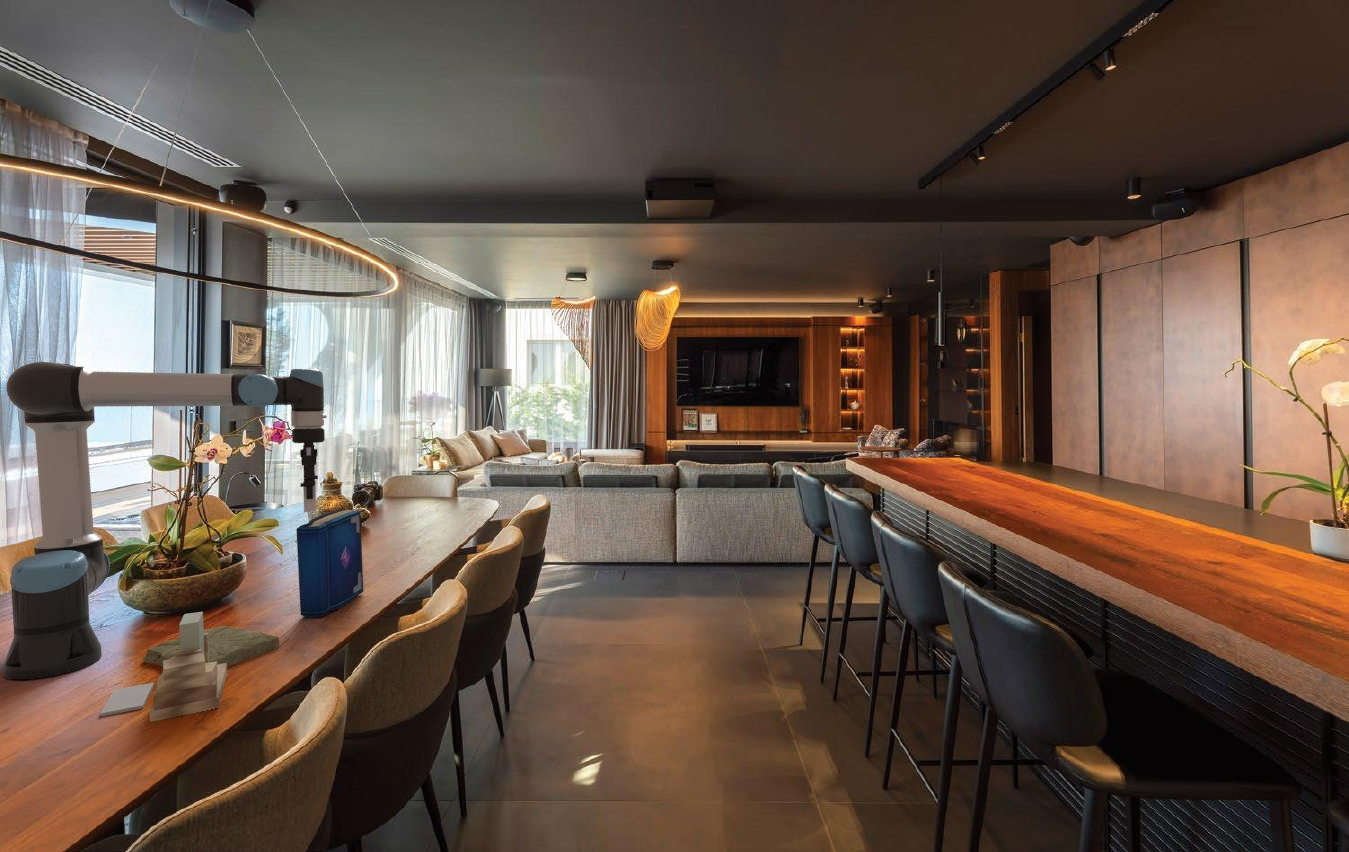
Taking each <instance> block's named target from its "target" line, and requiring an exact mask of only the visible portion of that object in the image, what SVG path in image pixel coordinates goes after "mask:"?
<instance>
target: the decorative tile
mask: <svg viewBox="0 0 1349 852" xmlns="http://www.w3.org/2000/svg"><path fill="white" fill-rule="evenodd" d="M204 633H208V649H209V662H215V661H217V665H218V664H224V663H227V668H229V667H231V666H233V664H234V665H236V664H239V663H241V662H244V661H246V660H249V659H252V658H254V657H257V656H260V655H262V654H265V653H267V652H271V651H272V650H275V649H277V648H279V647H280V645H281V644H280V637H279V636H276V635H271V634H268V633H264V632H262V631H261V632H260V631H253V630H250V629H249V630H248V629H244V628H239V627H238V628H237V627H232V626H228V625H219V626H216V627H212V628H207V629H204ZM179 652H180V636H179V637H177V638H176V637H175V639H170V640H166V641H163V642H161V643H159V644H157V645H155V646H153V647H149V648H148V649H147V650H146V655H145V656H143V658H142V661H143V662H144V663H145V662H146V664H148V663H154V664H153V665H157V664H158V666H160V667H161V668H163V661H164V660H169V659H174V658H175V654H176V653H179Z"/></svg>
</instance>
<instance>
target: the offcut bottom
mask: <svg viewBox="0 0 1349 852" xmlns="http://www.w3.org/2000/svg"><path fill="white" fill-rule="evenodd" d="M216 696H217V676H216V678H215V680H214V682H213V684H212V685H207V686H201V687H194V688H188V689H182V690H175V691H169V692H163V693H158V685H157V684H156V688H155V691H154V694H153V702H154V711H155V710H159V709H164V708H169V707H174V706H178V705H183V704H188V703H193V702H197V701H202V700H207V699H212V698H216Z"/></svg>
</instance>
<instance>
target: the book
mask: <svg viewBox="0 0 1349 852" xmlns="http://www.w3.org/2000/svg"><path fill="white" fill-rule="evenodd" d="M361 521H362V520H361V510H360V509H356V510H351V509H345V510H341V509H337V510H333V511H329V512H326V513H323V514H321V515H319V516H317V517H314V518H312V519H310V520H309V521H308V522H307V523H304V524H301V525H300V526H298V527H297V528H296V547H297V548H296V549H297V567H298V568H297V569H298V590H299V607H300V609H299V610H300V615H301V616H302V617H307V618H321V617H324V616H326V615H327V614H328V613H330V612H334V611H337V610H338V609H340V608H342V607H344V606H345V605H347V604H349V603H350V602H351V601H353V600H354V599H355V598H356V597H358V596H359V595H360V594H362V593H363V592H364V573H363V569H364V567H363V549H362V547H363V546H362V544H363V543H362V522H361ZM346 603H347V604H346ZM341 606H342V607H341ZM336 609H337V610H336ZM333 610H334V611H333Z"/></svg>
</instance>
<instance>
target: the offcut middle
mask: <svg viewBox="0 0 1349 852" xmlns="http://www.w3.org/2000/svg"><path fill="white" fill-rule="evenodd" d="M217 674H218V672H217V661H215V662H209V663H205V672H202V673H197V674H192V675H188V676H183V677H178V678H174V679H169V680H165V681H164V672H163V671H162V673H161V674H160V675H159V677H158V678H157V680H156V681H157V683H156V686H157V685H158V693H163V692H169V691H175V690H182V689H188V688H194V687H201V686H207V685H212V684H213V682H214V680H215V678H216V676H217Z"/></svg>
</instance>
